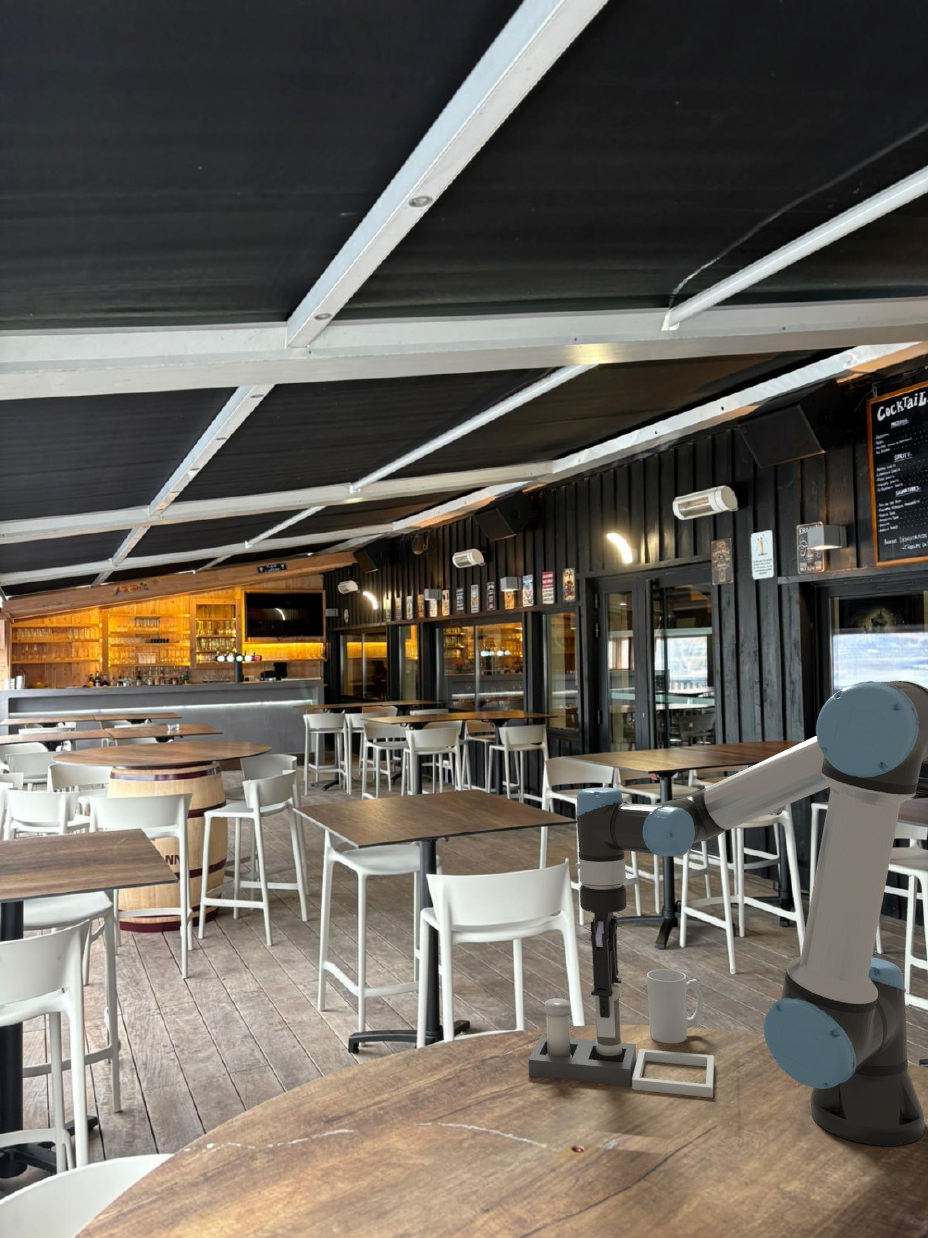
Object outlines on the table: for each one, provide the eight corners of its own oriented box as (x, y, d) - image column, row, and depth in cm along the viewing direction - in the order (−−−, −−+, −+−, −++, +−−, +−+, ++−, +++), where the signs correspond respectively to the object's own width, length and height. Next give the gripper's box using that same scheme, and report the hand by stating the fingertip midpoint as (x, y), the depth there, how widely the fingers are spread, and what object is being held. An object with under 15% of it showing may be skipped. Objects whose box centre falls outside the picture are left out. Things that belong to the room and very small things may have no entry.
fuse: (574, 1061, 153) (572, 999, 153) (569, 1071, 149) (568, 1008, 149) (549, 1058, 154) (547, 997, 154) (544, 1069, 150) (542, 1006, 150)
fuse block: (636, 1069, 153) (635, 1044, 153) (630, 1096, 143) (629, 1069, 143) (541, 1059, 157) (540, 1035, 157) (529, 1085, 147) (528, 1059, 148)
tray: (714, 1074, 150) (713, 1055, 150) (713, 1107, 139) (712, 1087, 139) (640, 1066, 153) (639, 1049, 154) (632, 1099, 142) (632, 1079, 142)
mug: (657, 1054, 158) (654, 983, 159) (643, 1039, 165) (641, 970, 166) (712, 1049, 160) (709, 978, 161) (696, 1034, 166) (694, 966, 167)
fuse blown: (623, 1046, 150) (621, 984, 151) (620, 1057, 146) (618, 992, 147) (598, 1044, 152) (595, 982, 152) (594, 1054, 147) (591, 990, 148)
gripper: (587, 872, 160) (592, 1010, 158) (571, 895, 144) (576, 1049, 142) (631, 873, 158) (637, 1013, 156) (619, 897, 141) (625, 1053, 140)
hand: (608, 1030), depth 149 cm, fingers closed on fuse blown, 4 cm apart
